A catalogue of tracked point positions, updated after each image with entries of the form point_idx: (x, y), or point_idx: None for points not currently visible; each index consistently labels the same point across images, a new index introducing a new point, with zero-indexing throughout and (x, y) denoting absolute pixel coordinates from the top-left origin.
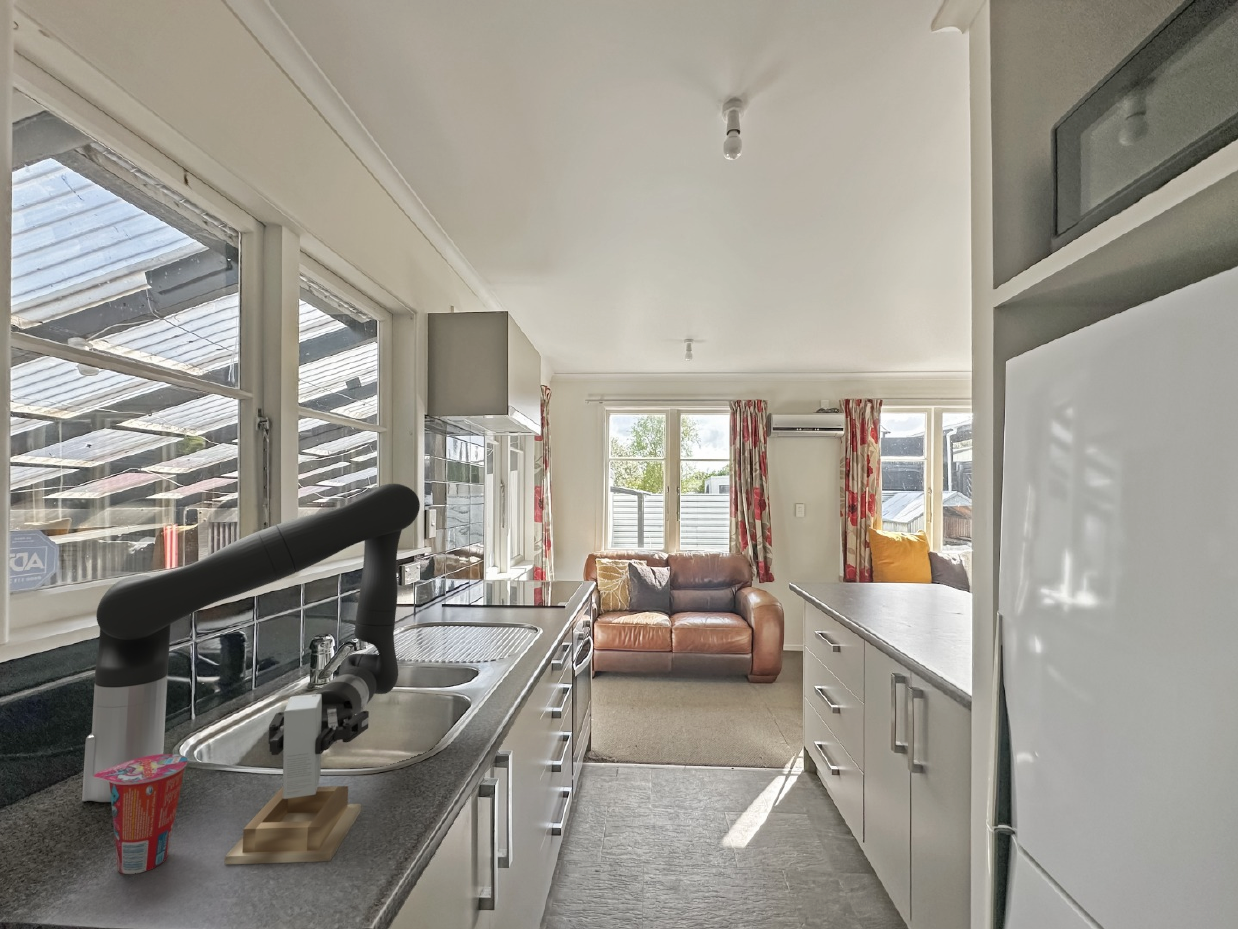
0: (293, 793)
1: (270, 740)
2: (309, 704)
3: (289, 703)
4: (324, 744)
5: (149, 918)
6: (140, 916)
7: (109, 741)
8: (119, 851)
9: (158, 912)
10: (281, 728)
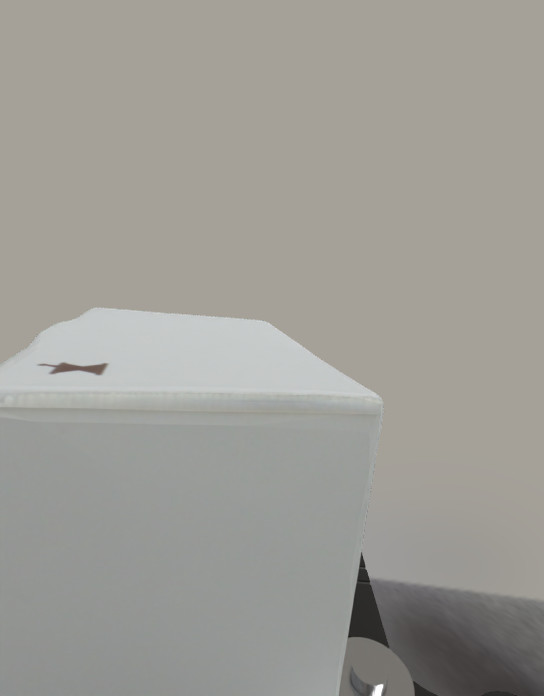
0: None
1: None
2: (133, 318)
3: (290, 342)
4: None
5: (377, 580)
6: (397, 587)
7: None
8: None
9: (375, 592)
10: (378, 644)
